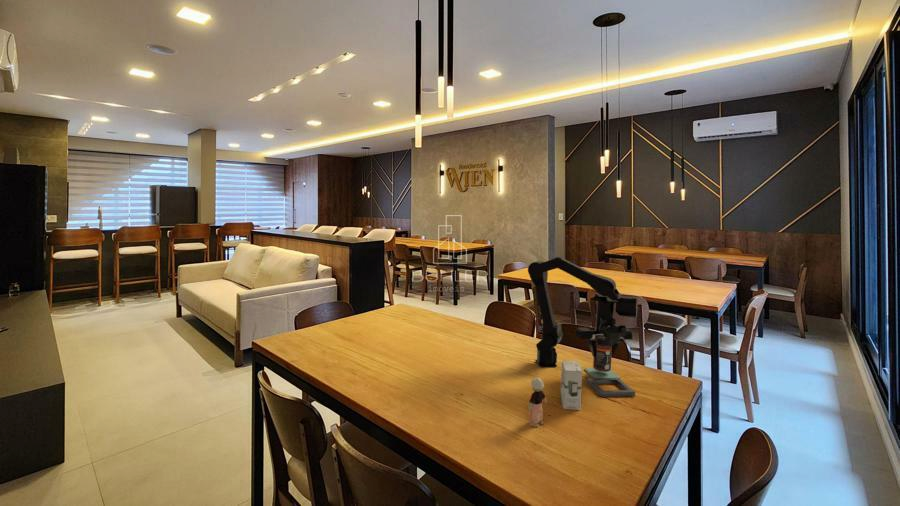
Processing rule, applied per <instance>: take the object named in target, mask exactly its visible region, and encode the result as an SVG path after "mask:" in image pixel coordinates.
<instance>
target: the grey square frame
mask: <svg viewBox="0 0 900 506" xmlns="http://www.w3.org/2000/svg"><path fill="white" fill-rule="evenodd" d="M586 384H588V386H590V388H591V389H593V391H594V392H595V393H596V394H597V395H599V396H600V397H601V398H602V397H603V398H607V397H608V398H612V397H618V398H619V397H620V398H621V397H636V391H635V390H634V389H632V388H631V387H630V386H629V385H627V384H626V383H625V382H624V381H623V380H621V378H620V379H619V378H593V377H590V378H589V377H588V378H586ZM599 385H617V386H618V387H620V389H621V390H620V389H617V390H616V389H613V390H611V389H609V390H604V389H602V388H601V387H600V386H599Z"/></svg>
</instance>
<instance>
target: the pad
mask: <svg viewBox="0 0 900 506" xmlns="http://www.w3.org/2000/svg"><path fill="white" fill-rule="evenodd" d="M584 371H585V372H586V373H587V374H588V375H589V376H590V377H591V378H619V379H620V380H621V376H619V375H618V374H616V373H615V372H614V371H612V370H610V371H608V372H602V371H597V370H596V369H594V368H593V367H591V368H590V367H589V368H587V367H586V368H584Z"/></svg>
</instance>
